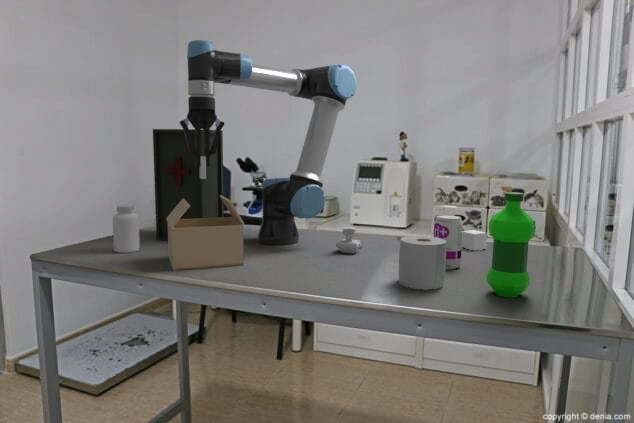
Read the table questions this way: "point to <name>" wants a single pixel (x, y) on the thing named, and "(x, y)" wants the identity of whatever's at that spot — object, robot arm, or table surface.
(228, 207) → the flap
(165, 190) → the first aid box
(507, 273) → the plastic bottle
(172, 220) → the flap
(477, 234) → the white cube
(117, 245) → the pill bottle
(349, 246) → the stamp
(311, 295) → the table surface
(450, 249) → the supplement can
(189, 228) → the carton
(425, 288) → the toilet paper roll
